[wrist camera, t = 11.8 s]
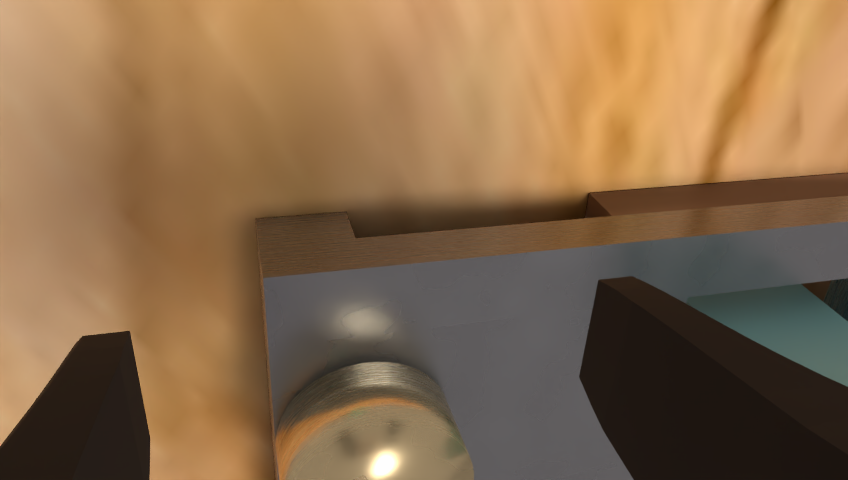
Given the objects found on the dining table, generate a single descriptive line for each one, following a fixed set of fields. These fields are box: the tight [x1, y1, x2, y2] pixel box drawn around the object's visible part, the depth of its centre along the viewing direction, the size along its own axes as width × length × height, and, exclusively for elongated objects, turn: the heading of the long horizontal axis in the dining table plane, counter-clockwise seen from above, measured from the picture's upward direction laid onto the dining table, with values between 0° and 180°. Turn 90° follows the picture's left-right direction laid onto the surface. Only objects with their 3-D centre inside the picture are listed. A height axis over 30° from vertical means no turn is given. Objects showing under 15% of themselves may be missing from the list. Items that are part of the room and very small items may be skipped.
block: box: [686, 284, 848, 387], centre depth 23 cm, size 4×4×9 cm
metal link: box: [256, 196, 848, 480], centre depth 23 cm, size 11×21×5 cm, turn 87°
